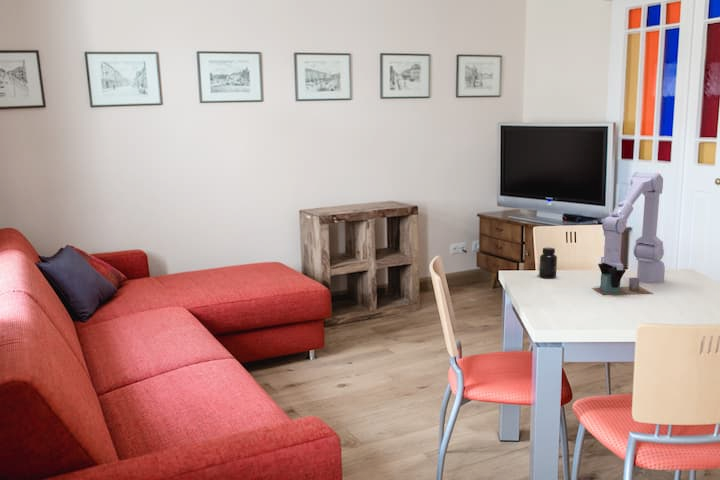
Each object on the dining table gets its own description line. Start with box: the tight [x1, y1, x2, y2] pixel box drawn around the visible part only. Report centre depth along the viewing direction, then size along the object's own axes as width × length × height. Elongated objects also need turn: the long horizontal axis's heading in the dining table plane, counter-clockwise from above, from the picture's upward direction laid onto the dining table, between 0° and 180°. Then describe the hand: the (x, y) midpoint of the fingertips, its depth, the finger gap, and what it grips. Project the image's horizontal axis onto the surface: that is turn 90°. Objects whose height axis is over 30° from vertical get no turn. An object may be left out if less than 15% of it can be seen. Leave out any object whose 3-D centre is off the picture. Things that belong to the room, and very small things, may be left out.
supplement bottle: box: [538, 247, 558, 279], centre depth 273 cm, size 7×7×12 cm
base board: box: [591, 285, 654, 296], centre depth 248 cm, size 19×11×1 cm, turn 94°
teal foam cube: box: [599, 274, 622, 293], centre depth 247 cm, size 5×5×6 cm
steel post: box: [628, 277, 640, 291], centre depth 247 cm, size 3×3×5 cm
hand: (610, 284), depth 247 cm, fingers open, 7 cm apart
